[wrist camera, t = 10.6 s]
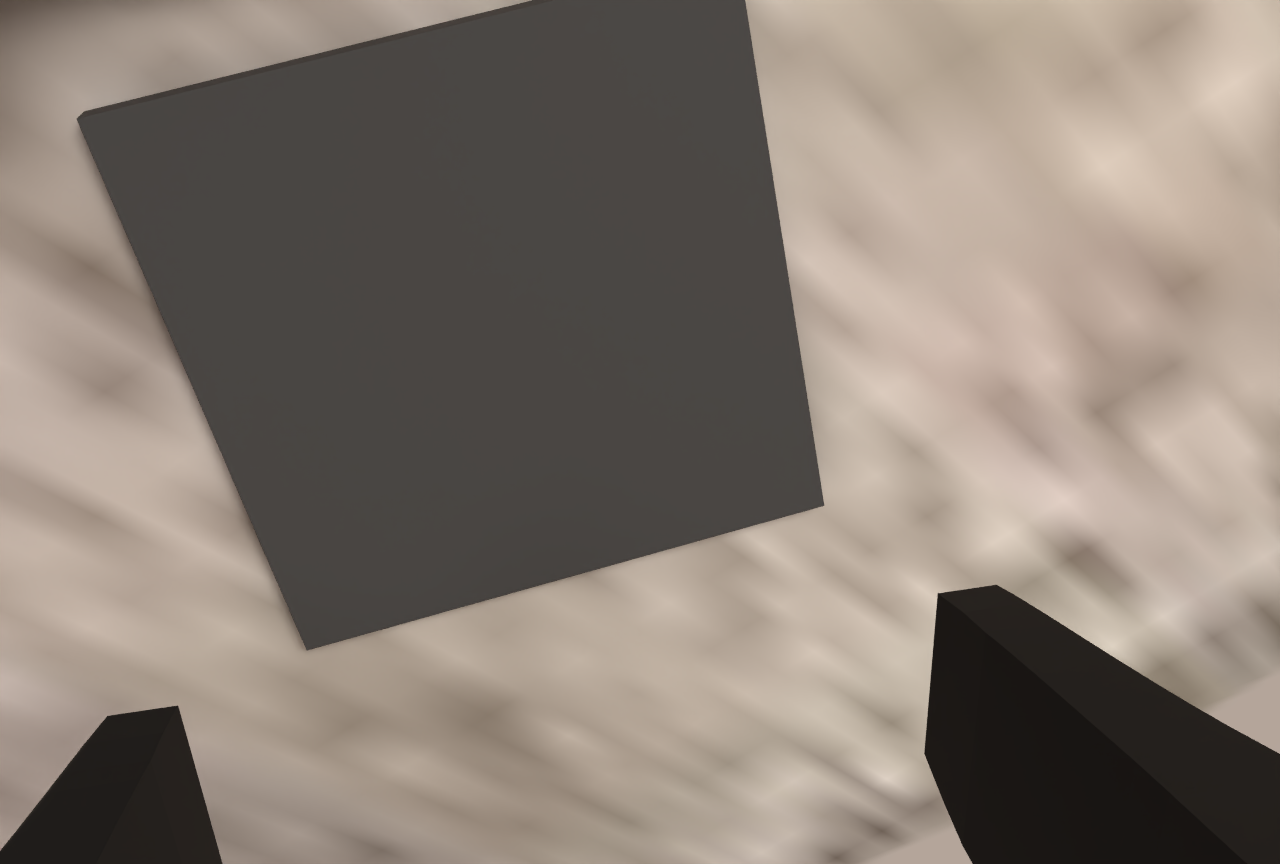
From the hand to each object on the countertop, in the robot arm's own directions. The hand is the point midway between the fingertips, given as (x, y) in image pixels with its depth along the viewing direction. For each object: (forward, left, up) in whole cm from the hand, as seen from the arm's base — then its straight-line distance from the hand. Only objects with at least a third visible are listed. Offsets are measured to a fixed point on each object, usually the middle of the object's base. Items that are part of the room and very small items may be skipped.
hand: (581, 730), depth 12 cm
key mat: (0, 0, -10) cm, 10 cm away
